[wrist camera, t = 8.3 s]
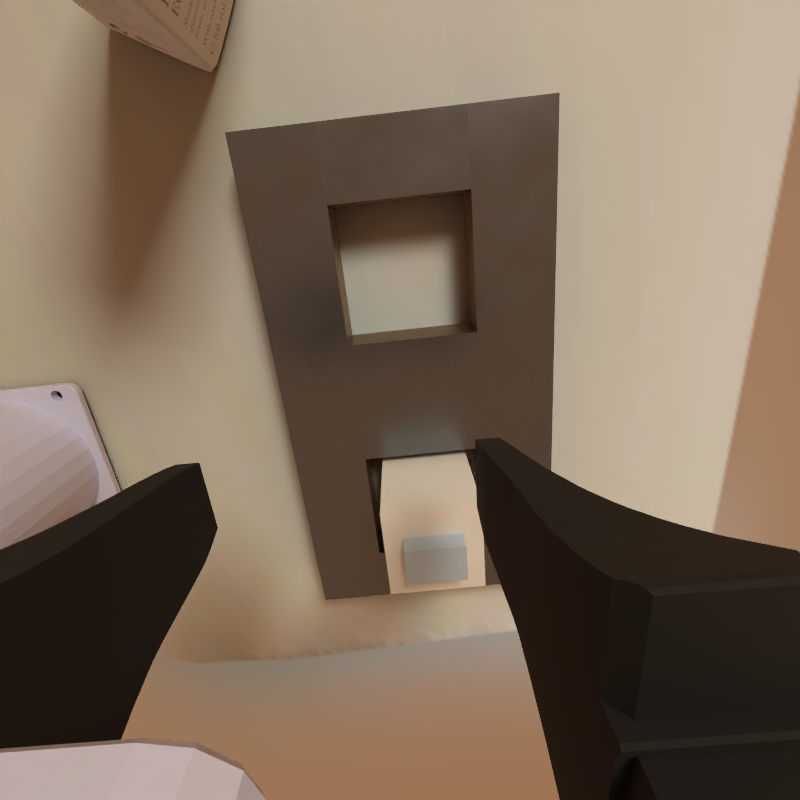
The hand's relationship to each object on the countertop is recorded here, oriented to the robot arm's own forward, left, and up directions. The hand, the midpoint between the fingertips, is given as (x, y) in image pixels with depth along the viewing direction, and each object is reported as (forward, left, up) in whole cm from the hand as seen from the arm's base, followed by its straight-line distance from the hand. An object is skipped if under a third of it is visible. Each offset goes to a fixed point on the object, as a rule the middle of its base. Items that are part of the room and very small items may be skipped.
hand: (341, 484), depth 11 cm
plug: (+2, -6, -10) cm, 12 cm away
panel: (+2, -1, -10) cm, 11 cm away
